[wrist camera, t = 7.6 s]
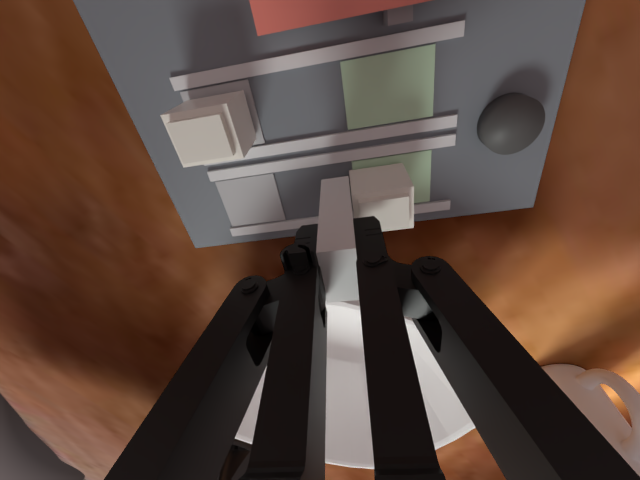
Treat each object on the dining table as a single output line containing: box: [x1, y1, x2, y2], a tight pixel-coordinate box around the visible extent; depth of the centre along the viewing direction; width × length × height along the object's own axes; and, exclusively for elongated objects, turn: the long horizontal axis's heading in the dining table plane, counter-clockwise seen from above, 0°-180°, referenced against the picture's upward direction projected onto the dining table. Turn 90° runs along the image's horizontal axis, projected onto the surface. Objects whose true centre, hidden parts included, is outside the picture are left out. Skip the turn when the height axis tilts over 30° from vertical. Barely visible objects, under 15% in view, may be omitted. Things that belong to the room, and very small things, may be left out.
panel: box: [73, 0, 586, 248], centre depth 16 cm, size 22×16×4 cm
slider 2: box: [349, 163, 414, 232], centre depth 17 cm, size 3×2×3 cm
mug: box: [542, 364, 640, 476], centre depth 30 cm, size 12×8×10 cm
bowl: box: [235, 300, 476, 469], centre depth 26 cm, size 21×21×9 cm
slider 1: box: [160, 90, 257, 168], centre depth 15 cm, size 3×2×3 cm
